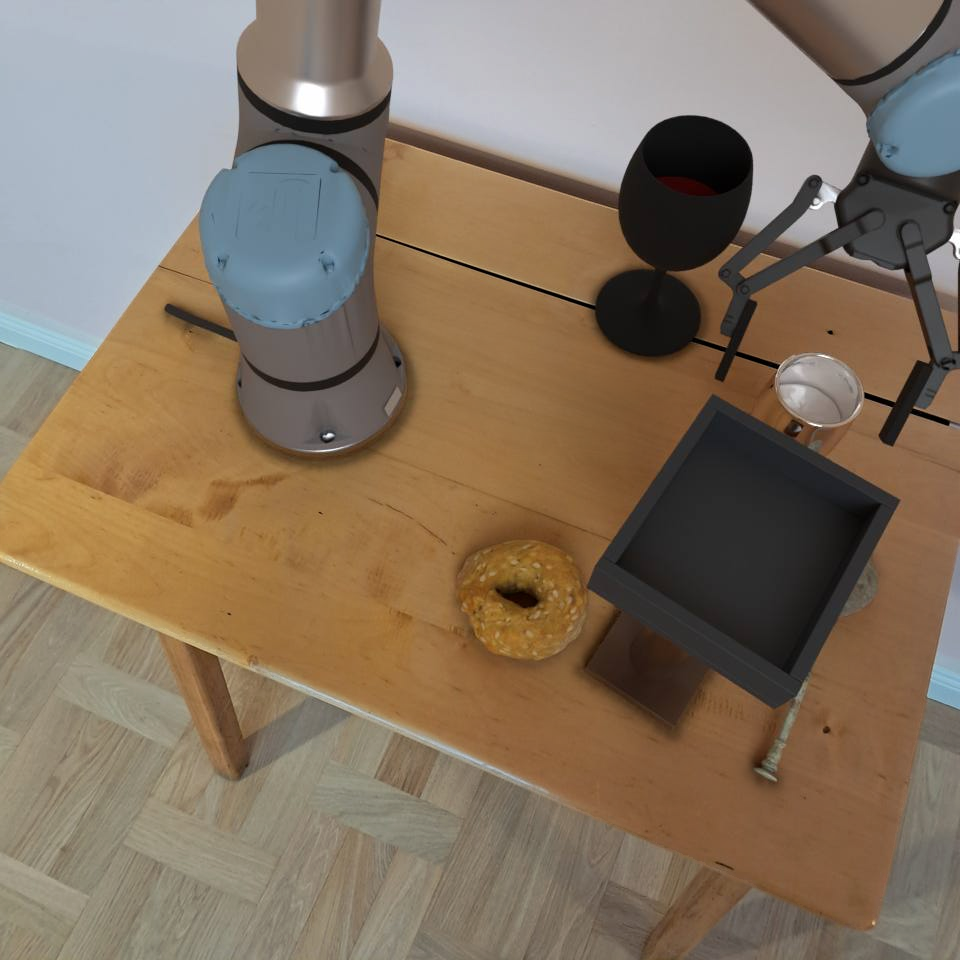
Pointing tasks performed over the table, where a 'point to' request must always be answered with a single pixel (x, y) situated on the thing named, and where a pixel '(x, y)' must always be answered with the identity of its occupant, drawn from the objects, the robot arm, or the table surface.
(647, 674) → the stand
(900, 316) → the table surface
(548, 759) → the table surface
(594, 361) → the table surface
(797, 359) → the silver metal cup
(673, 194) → the wine glass
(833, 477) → the tray
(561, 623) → the bagel
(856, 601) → the soupspoon
